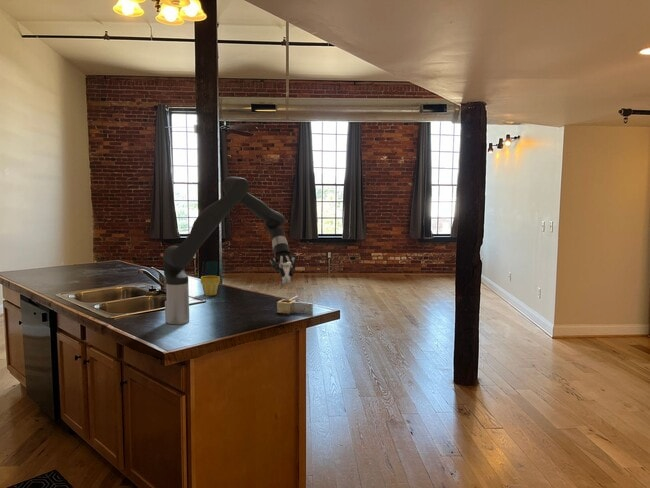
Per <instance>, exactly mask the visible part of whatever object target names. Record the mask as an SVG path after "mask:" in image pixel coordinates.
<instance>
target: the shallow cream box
mask: <svg viewBox="0 0 650 488" xmlns="http://www.w3.org/2000/svg"><path fill="white" fill-rule="evenodd" d="M313 308H314V303H311V302H302V301H299V295H295V296H294V297H292V298H289V299H280V300H279V301H277V302H276V312H277V314H286V313H287V315H290V313H291V314H293V313H294V314H303V313H304V315H313V314H314V309H313Z"/></svg>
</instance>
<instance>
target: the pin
mask: <svg viewBox="0 0 650 488" xmlns="http://www.w3.org/2000/svg"><path fill="white" fill-rule="evenodd" d="M281 265H282V268H283V272H284V277H282V276H281V278H282V285H290V284H291V277H290V265H292V262H291V261H290V262H281Z"/></svg>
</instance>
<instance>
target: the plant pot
mask: <svg viewBox="0 0 650 488" xmlns="http://www.w3.org/2000/svg"><path fill="white" fill-rule="evenodd" d="M220 280H221V278H220V276H218V275H203V276H201V277H200V284H201V286H202V290H203V293H204V294H203V295H205V296H215V295H217V292H218V289H219V284H220V283H221V281H220Z"/></svg>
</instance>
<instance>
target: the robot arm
mask: <svg viewBox="0 0 650 488" xmlns="http://www.w3.org/2000/svg"><path fill="white" fill-rule="evenodd" d="M249 189H250V183H249V181H248V180H247V179H246V178H244V177H238V176H227V177H226V178H224V180H223V181H222V190H223V192H224V193H225V194H223V196H222V197H221V198H219V199H218V200H216V201H214V202H213V203H211V204H210V205H208V206H207V207H205V208H203V210H202V211H201V213H200V214H198V216H197V217H196V219H194V222H193V224H192V226H191V229H190V232H189V234H188V235H187V236H186V238H185V239H184V240H183V241H182V242H181V243H180V244H179V245H170V246H168V247H167V248H166V249H165V250H164V252H163V255H162V257H163V258H162V259H163V260H162V261H163V262H162V263H163V274H164V277H165V284H166V285H165V288H166V300H165V301H164V314H165V315H164V318H165V320H164V321H165V323H166V324H170V325H184V324H188V323H189V322H190V294H189V293H190V291H189V275H188V274H187V273H186V270H185V268H186V267H187V266H188V265H189V264H190V263H191V261H192V260H193V258H194V257H195V255H196V254H197V252H198V251H199V249H200V248H201V246H203V245H204V243H205V242H206V240H208V238H209V237H210V236H211V234H212V233H214V231H215V230H216V229H217V228H218V227H219V225H220V224H221V222H222V221H223V220H224V219H225V218H226V216H227V215H229V213H230V212H231V211H232V210H233V208H234V207H236V205H237V204H239V203H241V204H242V205H243V206H245V208H247V209H248V210H249V211H251V212H252V213H253V214H254V215H255V216H256V217H258V218H259V219H260V220H261V221H264V226H265V228H266V230H267V231H268V232H269V235H270V238H271V243H272V244H271V245H272V251H273V254H274V257H271V258H270V260H269V263H270V265H271V266H272V268H273V269H274V270H275V271H279V276H280V277H281V278H282V277H284V272H283V268H282V265H281V262H291V261H292V264H291V265H290V278H292V277H294V270H296V266H297V262H298V256H295V257H293V256H292V255H291V251H290V247H289V244H288V240H287V238H286V233H285V230H284V229H283V228H281V227H283V226H284V225H285V224H286V217H285V216H284V214H282V213H281V212H279V211H276V210H274V209H272V208H270V207H269V206H268V205H267V204H266V203H265V202H263V201H262V200H261V199H259V198H257V197H256V196H254V195H252V194H250V192H249Z"/></svg>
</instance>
